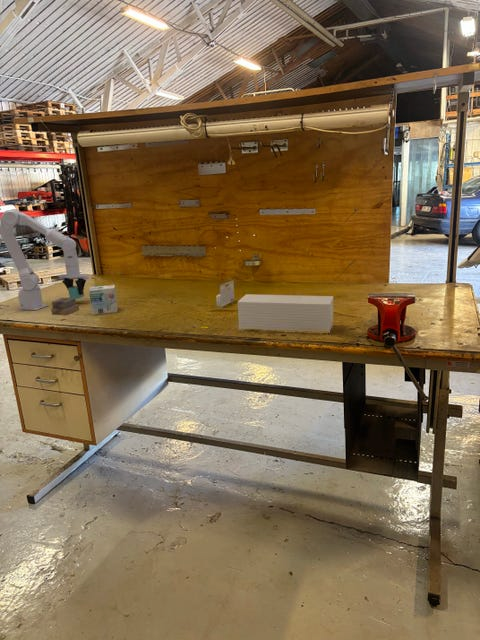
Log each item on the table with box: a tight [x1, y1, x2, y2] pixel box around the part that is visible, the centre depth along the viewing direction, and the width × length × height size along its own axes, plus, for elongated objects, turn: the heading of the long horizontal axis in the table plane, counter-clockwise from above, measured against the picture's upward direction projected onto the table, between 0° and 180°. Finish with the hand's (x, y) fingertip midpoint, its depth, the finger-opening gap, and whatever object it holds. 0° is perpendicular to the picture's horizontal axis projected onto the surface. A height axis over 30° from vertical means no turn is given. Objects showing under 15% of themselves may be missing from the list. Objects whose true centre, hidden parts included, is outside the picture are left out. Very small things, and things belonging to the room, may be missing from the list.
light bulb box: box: [88, 284, 119, 316], centre depth 193 cm, size 11×7×11 cm, turn 105°
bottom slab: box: [50, 303, 80, 316], centre depth 197 cm, size 8×8×3 cm
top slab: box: [51, 297, 77, 309], centre depth 196 cm, size 7×7×3 cm
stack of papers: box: [237, 293, 334, 332], centre depth 160 cm, size 32×11×11 cm, turn 73°
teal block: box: [67, 285, 85, 300], centre depth 210 cm, size 5×5×5 cm
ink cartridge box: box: [215, 279, 236, 308], centre depth 195 cm, size 2×11×10 cm, turn 149°
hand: (76, 294), depth 210 cm, fingers closed on teal block, 5 cm apart
